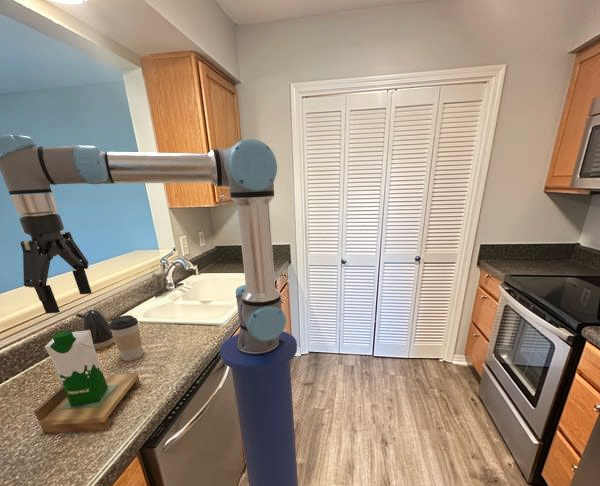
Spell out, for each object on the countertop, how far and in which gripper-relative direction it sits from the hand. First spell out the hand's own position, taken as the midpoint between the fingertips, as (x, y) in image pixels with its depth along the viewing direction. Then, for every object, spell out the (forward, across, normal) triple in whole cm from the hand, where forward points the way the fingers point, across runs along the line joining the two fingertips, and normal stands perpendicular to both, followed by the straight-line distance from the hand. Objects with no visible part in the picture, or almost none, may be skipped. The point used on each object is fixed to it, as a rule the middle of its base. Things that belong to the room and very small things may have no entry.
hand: (70, 302), depth 81 cm
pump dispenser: (+30, -36, -20) cm, 51 cm away
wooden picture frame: (+30, +3, -1) cm, 30 cm away
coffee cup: (+30, -26, -4) cm, 41 cm away
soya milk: (+26, +4, -1) cm, 26 cm away
